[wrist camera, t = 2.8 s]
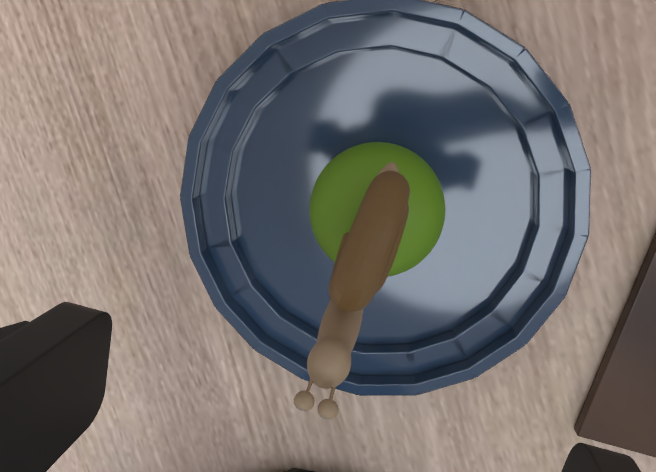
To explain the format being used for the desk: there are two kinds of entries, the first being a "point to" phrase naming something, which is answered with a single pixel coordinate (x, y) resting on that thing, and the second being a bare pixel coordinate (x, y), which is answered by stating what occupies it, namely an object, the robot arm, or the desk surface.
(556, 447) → the desk surface
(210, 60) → the desk surface
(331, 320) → the snail figurine
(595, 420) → the coaster
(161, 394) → the desk surface
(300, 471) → the beer stein
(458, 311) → the plate
